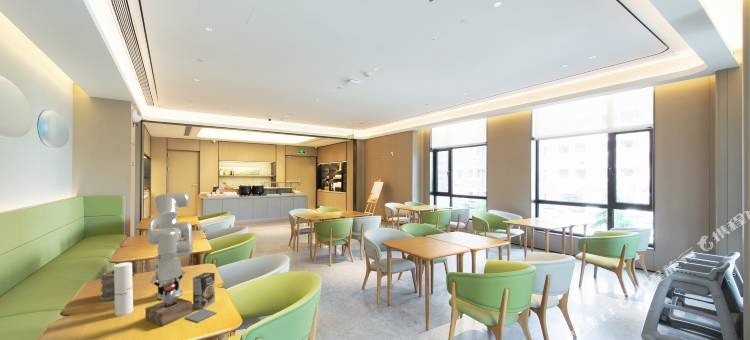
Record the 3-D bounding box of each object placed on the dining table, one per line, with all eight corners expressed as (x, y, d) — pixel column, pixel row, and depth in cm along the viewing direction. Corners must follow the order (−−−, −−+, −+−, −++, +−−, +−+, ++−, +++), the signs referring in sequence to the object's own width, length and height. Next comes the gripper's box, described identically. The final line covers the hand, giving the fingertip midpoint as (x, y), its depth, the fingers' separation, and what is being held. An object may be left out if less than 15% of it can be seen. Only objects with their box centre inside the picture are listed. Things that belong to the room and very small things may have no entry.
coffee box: (203, 309, 160) (202, 278, 160) (192, 308, 162) (192, 277, 161) (215, 301, 169) (215, 272, 169) (205, 300, 170) (204, 271, 170)
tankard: (94, 299, 174) (94, 273, 174) (118, 290, 186) (117, 266, 186) (121, 302, 169) (121, 275, 169) (144, 293, 182) (143, 268, 181)
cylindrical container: (136, 310, 160) (135, 262, 159) (121, 316, 153) (120, 267, 153) (127, 308, 162) (126, 261, 162) (111, 314, 155) (110, 265, 155)
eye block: (145, 320, 149) (145, 308, 149) (174, 308, 162) (174, 296, 162) (162, 326, 143) (162, 313, 143) (191, 313, 156) (191, 301, 156)
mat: (184, 318, 151) (184, 317, 151) (203, 309, 160) (203, 308, 160) (197, 322, 146) (197, 321, 146) (216, 313, 155) (216, 312, 155)
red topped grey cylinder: (164, 320, 148) (164, 288, 148) (159, 317, 152) (159, 285, 152) (178, 315, 153) (177, 284, 153) (173, 312, 157) (172, 281, 157)
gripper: (150, 261, 143) (151, 300, 143) (189, 252, 157) (190, 287, 157) (144, 259, 147) (145, 296, 148) (183, 250, 161) (183, 284, 162)
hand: (168, 291), depth 152 cm, fingers closed on red topped grey cylinder, 6 cm apart
